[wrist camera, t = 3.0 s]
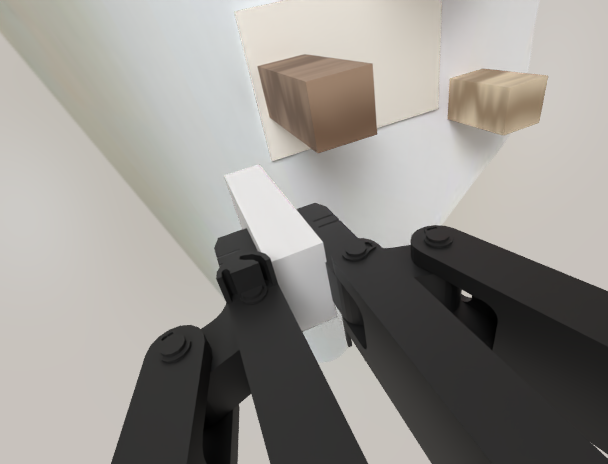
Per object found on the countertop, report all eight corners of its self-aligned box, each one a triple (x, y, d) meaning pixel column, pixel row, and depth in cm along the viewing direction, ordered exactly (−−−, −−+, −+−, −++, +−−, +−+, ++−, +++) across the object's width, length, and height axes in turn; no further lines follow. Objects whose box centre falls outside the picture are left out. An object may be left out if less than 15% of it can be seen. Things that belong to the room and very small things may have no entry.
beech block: (449, 78, 38) (510, 87, 31) (482, 68, 39) (548, 75, 32) (447, 119, 40) (503, 135, 34) (478, 108, 41) (538, 122, 35)
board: (233, 11, 28) (234, 11, 28) (440, -34, 32) (443, -35, 32) (271, 160, 35) (272, 161, 35) (435, 108, 39) (438, 108, 39)
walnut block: (257, 66, 30) (305, 81, 20) (304, 54, 31) (372, 63, 21) (269, 117, 33) (317, 153, 23) (312, 104, 34) (377, 134, 24)
